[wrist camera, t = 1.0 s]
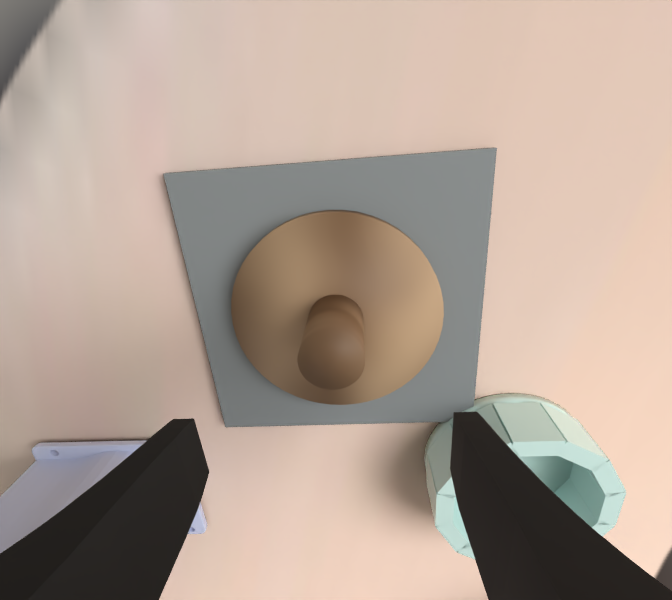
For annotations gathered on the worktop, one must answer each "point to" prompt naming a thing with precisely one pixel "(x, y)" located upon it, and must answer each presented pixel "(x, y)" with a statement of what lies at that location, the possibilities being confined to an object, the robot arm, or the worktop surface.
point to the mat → (354, 195)
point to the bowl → (530, 463)
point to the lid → (337, 307)
